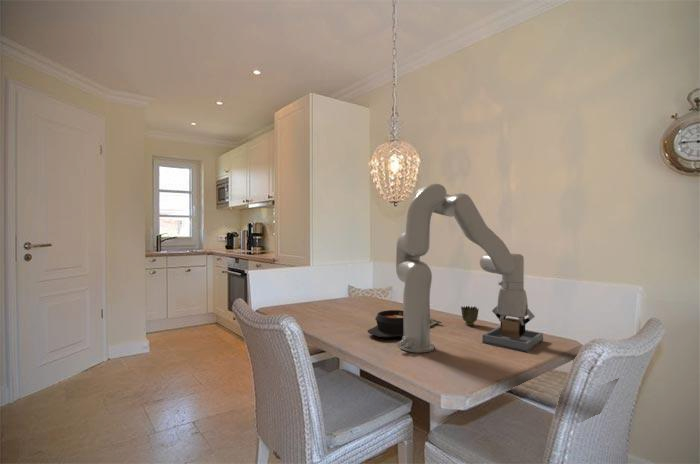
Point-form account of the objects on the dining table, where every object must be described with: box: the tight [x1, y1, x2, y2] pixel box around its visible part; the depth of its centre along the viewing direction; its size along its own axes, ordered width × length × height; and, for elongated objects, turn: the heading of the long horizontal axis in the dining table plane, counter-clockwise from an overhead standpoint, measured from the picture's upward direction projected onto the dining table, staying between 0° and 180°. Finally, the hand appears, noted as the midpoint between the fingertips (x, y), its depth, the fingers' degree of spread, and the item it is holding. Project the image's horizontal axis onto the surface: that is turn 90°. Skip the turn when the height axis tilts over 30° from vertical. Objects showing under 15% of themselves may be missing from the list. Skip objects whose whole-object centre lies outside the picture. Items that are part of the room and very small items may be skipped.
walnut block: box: [502, 317, 524, 339], centre depth 139 cm, size 6×6×6 cm
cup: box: [460, 305, 479, 327], centre depth 163 cm, size 8×7×8 cm
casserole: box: [367, 309, 403, 339], centre depth 150 cm, size 25×19×8 cm
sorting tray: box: [481, 325, 544, 353], centre depth 139 cm, size 18×16×3 cm
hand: (512, 332), depth 139 cm, fingers closed on walnut block, 5 cm apart
